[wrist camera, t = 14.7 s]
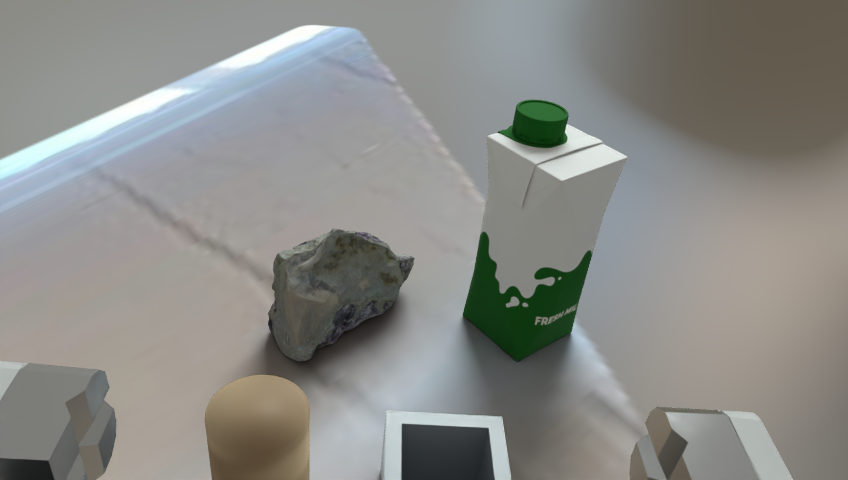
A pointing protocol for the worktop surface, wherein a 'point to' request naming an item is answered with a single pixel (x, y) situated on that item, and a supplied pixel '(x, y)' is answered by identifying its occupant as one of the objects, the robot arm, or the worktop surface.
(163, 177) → the worktop surface
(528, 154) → the milk carton
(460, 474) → the open box
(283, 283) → the mineral rock
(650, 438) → the robot arm
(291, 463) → the dowel
